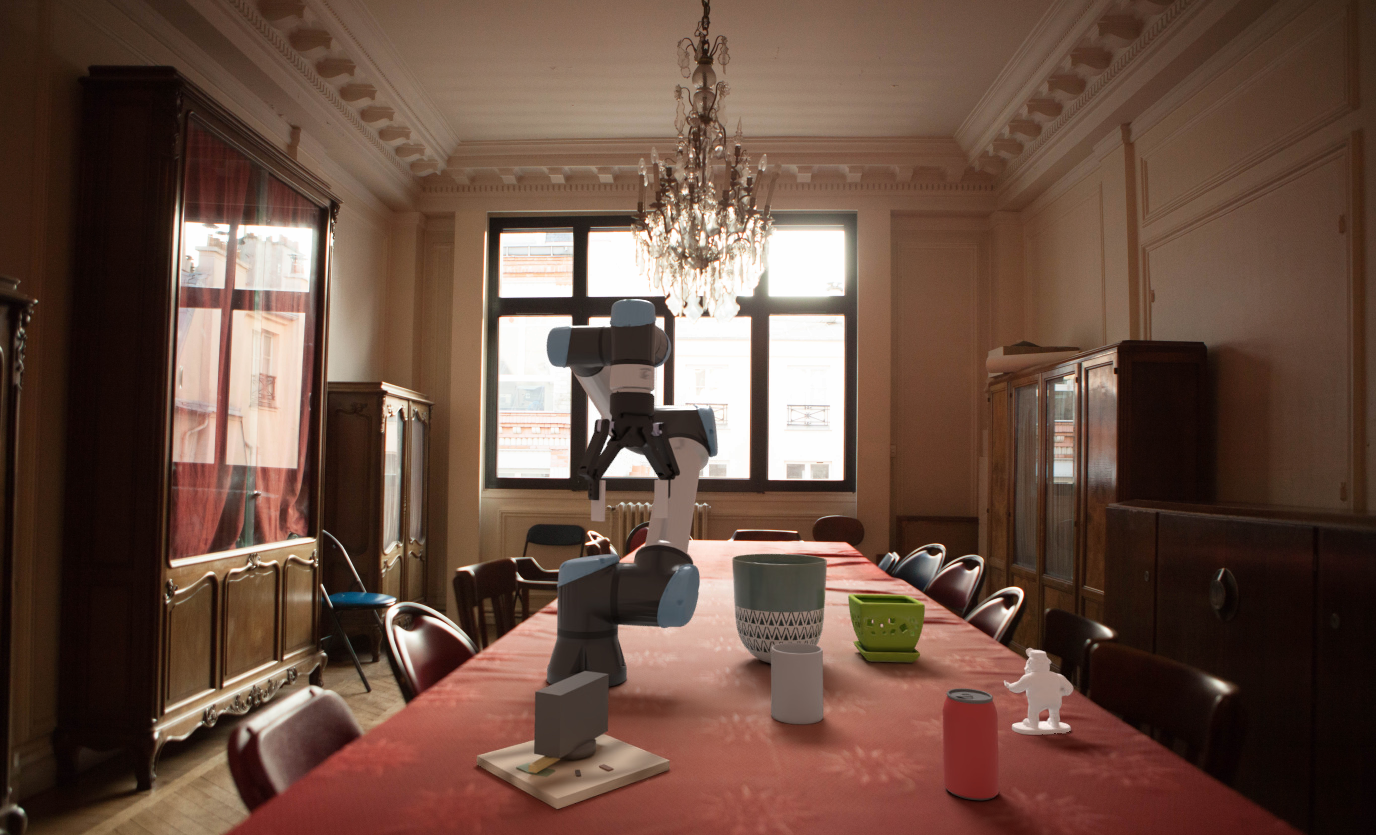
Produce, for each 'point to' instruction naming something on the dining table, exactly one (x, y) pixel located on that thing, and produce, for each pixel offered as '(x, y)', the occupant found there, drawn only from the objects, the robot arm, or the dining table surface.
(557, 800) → the board
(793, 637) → the planter
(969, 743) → the beer can
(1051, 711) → the figurine
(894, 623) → the flower pot
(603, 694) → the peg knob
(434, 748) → the dining table surface
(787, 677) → the mug
